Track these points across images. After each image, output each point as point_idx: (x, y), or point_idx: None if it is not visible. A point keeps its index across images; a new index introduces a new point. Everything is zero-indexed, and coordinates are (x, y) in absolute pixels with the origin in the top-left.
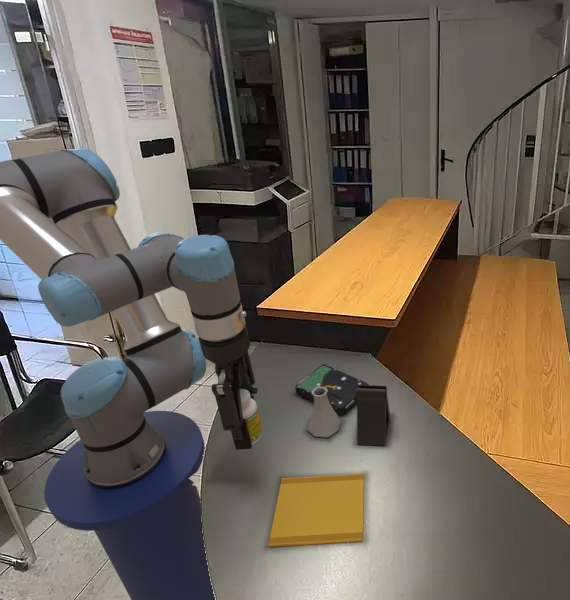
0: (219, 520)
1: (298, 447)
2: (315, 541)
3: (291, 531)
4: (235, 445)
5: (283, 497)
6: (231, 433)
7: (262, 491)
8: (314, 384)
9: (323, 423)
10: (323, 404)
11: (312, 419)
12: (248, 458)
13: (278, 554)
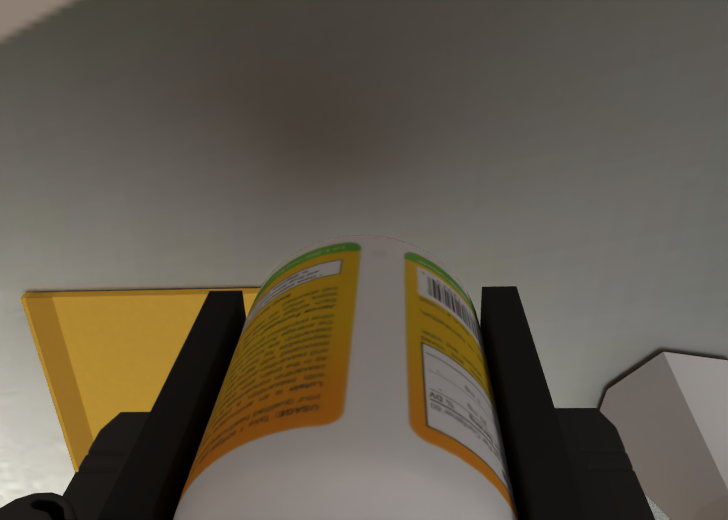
0: (109, 45)
1: (551, 323)
2: (69, 444)
3: (92, 368)
4: (199, 318)
5: (247, 315)
6: (275, 302)
7: (288, 211)
8: None
9: (637, 474)
10: None
11: (680, 429)
12: (509, 88)
13: (6, 329)
